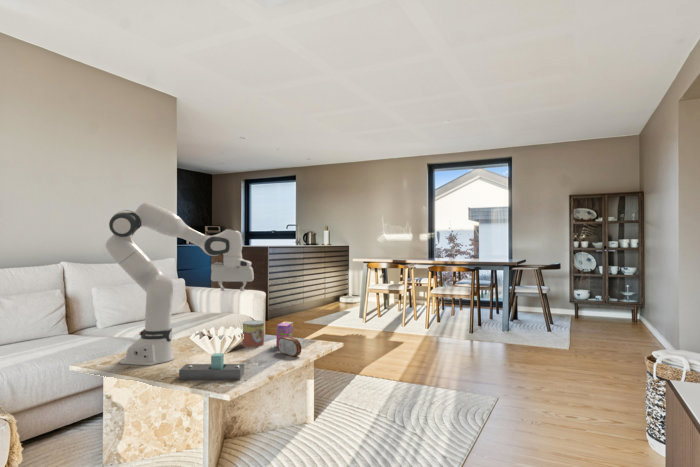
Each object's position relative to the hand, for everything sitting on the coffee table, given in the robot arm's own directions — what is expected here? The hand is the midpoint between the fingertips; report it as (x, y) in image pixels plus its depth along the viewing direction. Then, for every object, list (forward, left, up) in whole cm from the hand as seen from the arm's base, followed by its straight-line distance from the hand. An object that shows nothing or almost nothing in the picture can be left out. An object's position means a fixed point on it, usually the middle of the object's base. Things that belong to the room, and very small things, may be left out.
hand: (232, 290), depth 205 cm
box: (+24, +18, -31) cm, 43 cm away
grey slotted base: (0, -33, -31) cm, 45 cm away
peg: (+2, -33, -31) cm, 45 cm away
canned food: (+7, +20, -31) cm, 38 cm away
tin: (+28, 0, -31) cm, 42 cm away
